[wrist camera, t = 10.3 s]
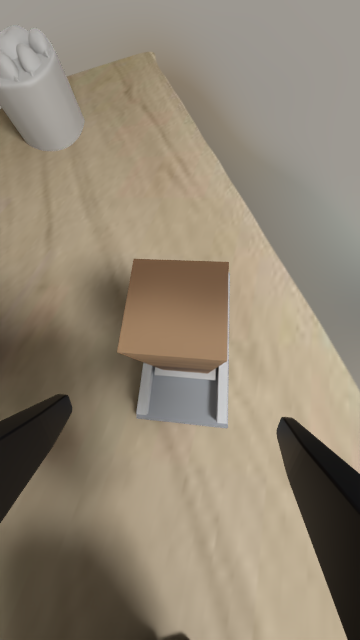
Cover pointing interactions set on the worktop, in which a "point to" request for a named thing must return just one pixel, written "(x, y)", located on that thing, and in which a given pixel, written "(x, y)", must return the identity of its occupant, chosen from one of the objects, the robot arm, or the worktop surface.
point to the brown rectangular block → (177, 317)
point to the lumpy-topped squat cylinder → (37, 90)
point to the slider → (185, 396)
